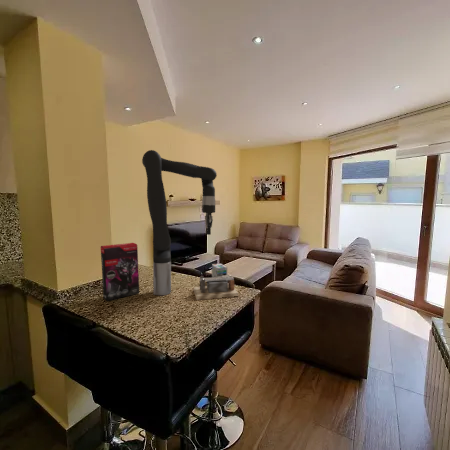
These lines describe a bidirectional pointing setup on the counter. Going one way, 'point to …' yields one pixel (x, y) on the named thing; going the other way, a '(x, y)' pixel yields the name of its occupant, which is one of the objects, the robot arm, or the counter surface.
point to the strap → (219, 278)
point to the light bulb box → (218, 270)
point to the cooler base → (213, 295)
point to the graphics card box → (119, 270)
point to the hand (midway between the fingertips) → (208, 234)
